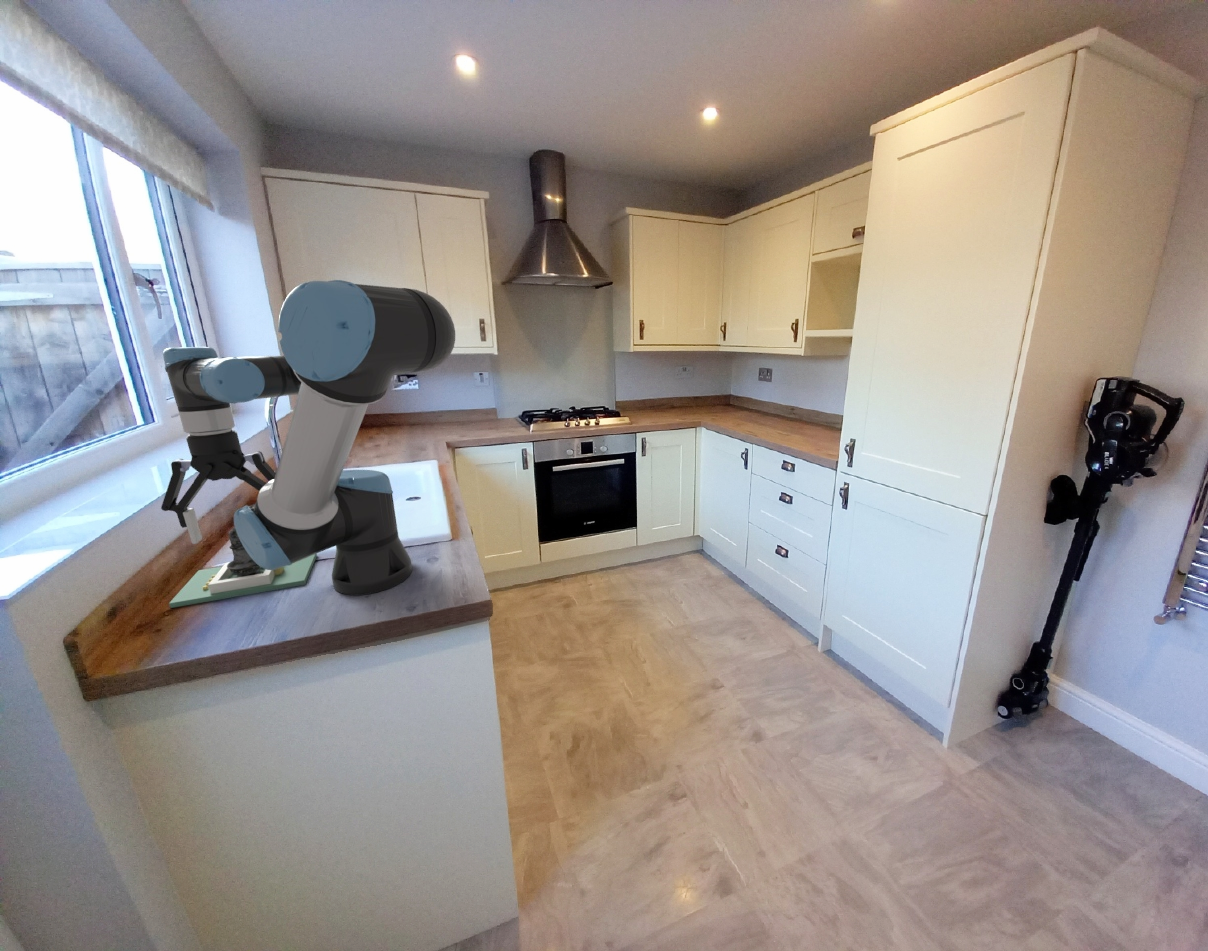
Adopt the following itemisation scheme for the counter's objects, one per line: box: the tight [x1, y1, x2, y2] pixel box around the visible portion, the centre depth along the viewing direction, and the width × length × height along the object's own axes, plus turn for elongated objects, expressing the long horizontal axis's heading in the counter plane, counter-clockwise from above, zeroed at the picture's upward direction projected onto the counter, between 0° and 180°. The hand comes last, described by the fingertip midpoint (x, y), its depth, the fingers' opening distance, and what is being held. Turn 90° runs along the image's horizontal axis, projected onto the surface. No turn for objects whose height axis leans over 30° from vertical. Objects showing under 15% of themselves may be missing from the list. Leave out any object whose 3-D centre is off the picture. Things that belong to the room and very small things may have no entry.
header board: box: [168, 553, 318, 609], centre depth 97 cm, size 22×14×3 cm, turn 112°
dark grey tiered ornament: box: [227, 524, 264, 578], centre depth 95 cm, size 6×6×12 cm
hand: (239, 535), depth 93 cm, fingers open, 13 cm apart
